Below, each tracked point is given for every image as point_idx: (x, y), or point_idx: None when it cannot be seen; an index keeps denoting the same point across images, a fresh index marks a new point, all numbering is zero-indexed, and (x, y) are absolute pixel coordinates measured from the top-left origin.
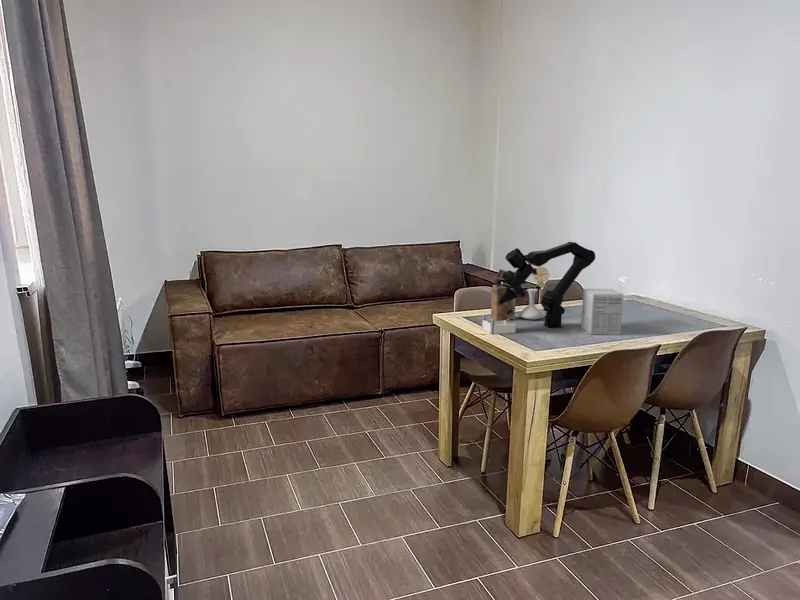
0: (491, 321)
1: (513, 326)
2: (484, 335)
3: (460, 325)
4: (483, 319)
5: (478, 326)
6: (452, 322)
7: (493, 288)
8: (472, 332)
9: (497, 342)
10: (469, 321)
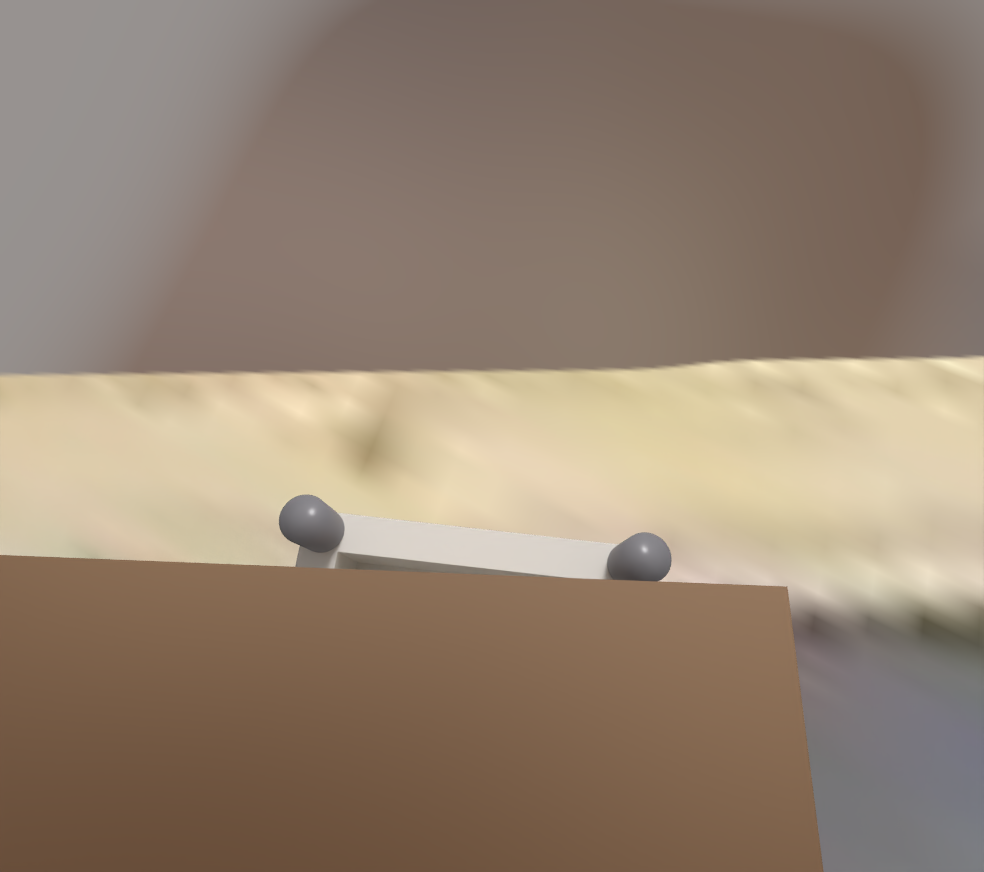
0: (302, 499)
1: None
2: (328, 440)
3: (797, 401)
4: (613, 547)
5: (715, 568)
6: (944, 381)
7: (489, 582)
8: (482, 384)
9: (38, 431)
10: (980, 584)
